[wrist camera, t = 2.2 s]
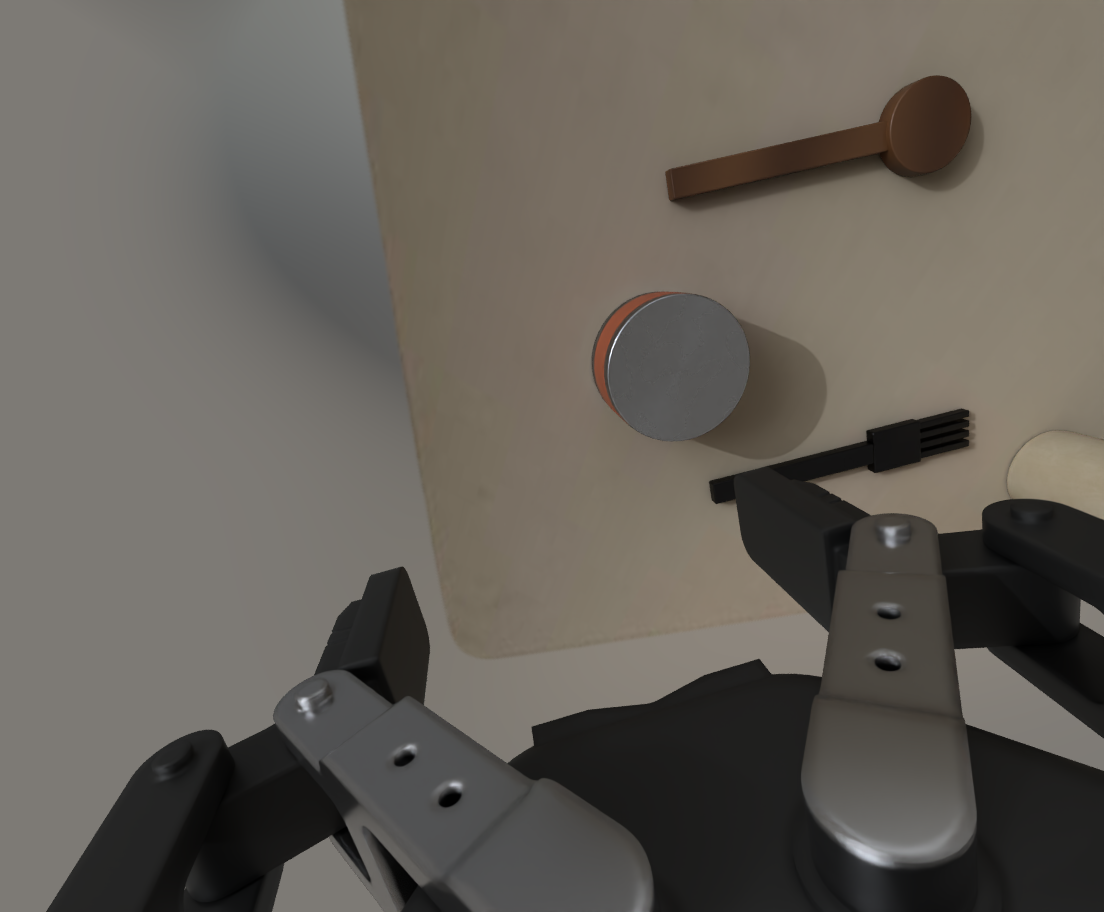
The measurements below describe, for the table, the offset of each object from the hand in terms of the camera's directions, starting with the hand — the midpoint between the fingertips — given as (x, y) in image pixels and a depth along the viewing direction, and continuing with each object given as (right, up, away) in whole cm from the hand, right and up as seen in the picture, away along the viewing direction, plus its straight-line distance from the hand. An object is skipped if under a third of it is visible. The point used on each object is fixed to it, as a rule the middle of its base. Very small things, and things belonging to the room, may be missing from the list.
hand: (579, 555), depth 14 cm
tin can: (+5, +8, +18) cm, 20 cm away
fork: (+18, +2, +21) cm, 28 cm away
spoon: (+13, +18, +16) cm, 27 cm away
